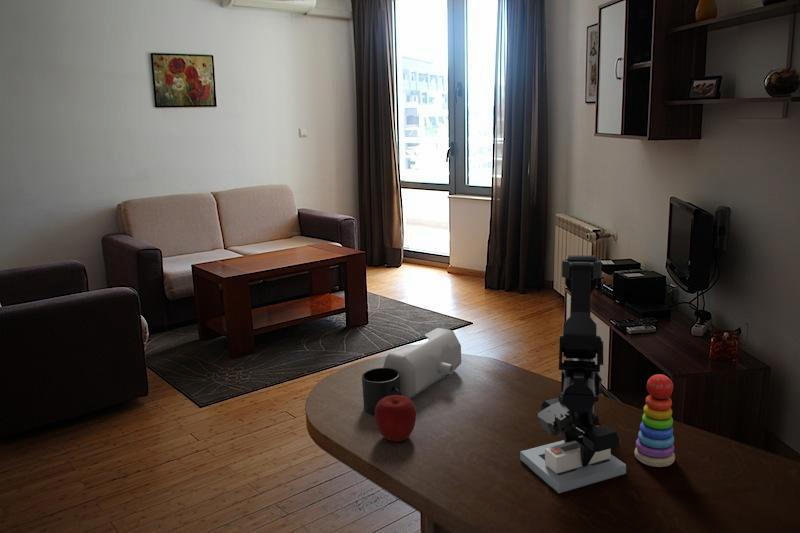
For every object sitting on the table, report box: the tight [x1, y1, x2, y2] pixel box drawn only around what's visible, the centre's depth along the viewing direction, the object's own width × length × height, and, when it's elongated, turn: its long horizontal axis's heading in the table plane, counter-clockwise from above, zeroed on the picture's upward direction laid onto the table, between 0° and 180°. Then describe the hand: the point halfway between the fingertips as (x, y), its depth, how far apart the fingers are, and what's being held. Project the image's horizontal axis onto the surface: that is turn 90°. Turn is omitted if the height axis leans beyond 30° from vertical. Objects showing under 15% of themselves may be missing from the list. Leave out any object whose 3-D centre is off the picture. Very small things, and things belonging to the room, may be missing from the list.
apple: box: [374, 395, 417, 443], centre depth 155 cm, size 10×10×10 cm
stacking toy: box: [633, 373, 676, 468], centre depth 139 cm, size 8×8×19 cm
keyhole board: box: [519, 434, 627, 494], centre depth 140 cm, size 16×14×2 cm
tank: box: [382, 327, 462, 400], centre depth 183 cm, size 25×16×12 cm, turn 143°
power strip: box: [545, 441, 612, 475], centre depth 137 cm, size 13×4×5 cm, turn 112°
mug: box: [361, 367, 401, 416], centre depth 169 cm, size 9×12×9 cm
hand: (578, 460), depth 138 cm, fingers closed on power strip, 4 cm apart
